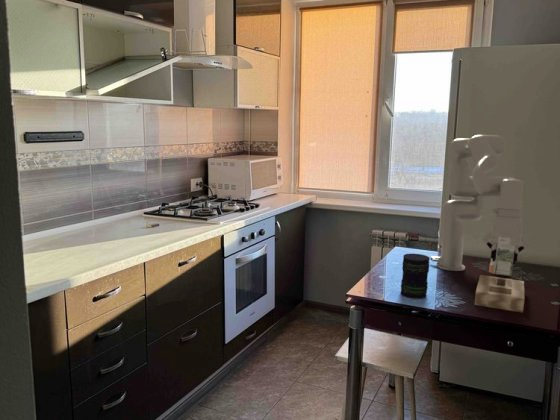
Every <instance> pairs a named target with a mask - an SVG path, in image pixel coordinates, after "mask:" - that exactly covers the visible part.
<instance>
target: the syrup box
mask: <svg viewBox="0 0 560 420" xmlns="http://www.w3.org/2000/svg"><path fill="white" fill-rule="evenodd" d="M514 249H515V246H513V245H510V238H506V237H502V236H499V237H498V244H497V246H496V254H495V261H494V273H495V274H494V275H498V276H506V277H507V276H508V277H511V276H512V273H513V267H514V266H513V265H514V264H513V257H514Z"/></svg>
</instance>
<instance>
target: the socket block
mask: <svg viewBox="0 0 560 420" xmlns="http://www.w3.org/2000/svg"><path fill="white" fill-rule="evenodd" d="M478 279H479V280H478V282H477V286H476V289H475V297H474V298H475V299H474V306H479V307H480V306H481V307H487V308H492V309H500V310H504V311H511V312H517V313H522V314H523V313H524V307H525V281H524V280H519V279H511V278H504V277H497V276H491V275H484V274H483V275H482V274H480V275H479V278H478Z"/></svg>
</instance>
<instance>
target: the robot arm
mask: <svg viewBox="0 0 560 420" xmlns="http://www.w3.org/2000/svg"><path fill="white" fill-rule="evenodd" d="M506 150H507V142H506V139H505V138H504V137H503V136H501V135H497V134H476V135H474V136H471V138H468V137H467V138H463V137H461V138H455V139H454V140H452V141H450V144H449V145H448V158H449V159H448V160H449V163H450V164H449V165H450V167H449V176H448V177H449V178H448V186H447V189H448V190H447V192H448V194H449V195H450V196H452V197H454V198H470V199H449V200H447V201H445V202H444V203H443V204H442V221H443V222H442V238H441V249H440V256H433V255H431V256H430V261H431V262H436V264H435V265H436V268H438V269H441V270H444V271H450V272H463V271H465V269H466V266H465V265H464V264H463V256H464V255H463V254H464V245H465V233H466V232H465V231H466V230H465V228H464V226H463V225H462V223H461V222H479V220H482V216H483V215H484V206H485V200H486V197H498V203H497V208H493V209H492V213H495V214H496V215H495V216H494V218H493V221H492V226H491V232H490V233H488V234H487V235H485V236H484V237H483V238H482V241H483V242H484V243H485V244H486V245H487V247H488V248H489V250H490V252H491V253H490V259H491V258H492V259H493V261H495V254H496V250H495V248H496V246H497V244H498V237H499V236H502V237H506V238H510V245H513V246H515V249H514V257H513V265H515V264H516V262H518V254H519V253H520V252H522V251H523V250H524V249H526V248H528V247H530V243H529V241H527V239H526V238H525V237H524V235H523V218H521V211H522V203H523V202H522V201H523V193H524V192H523V191H524V182H523V180H521V179H517V178H514V177H513V176H499V175H497V176H496V175H485V174H487V173H489V172H491V171H493V170H494V169H496V168H497V167H498V166H499V165H500V160H501V159H500V157H501V156H503V155H504V154H505V153H506ZM468 159H473V160H474V162H475V166H474V168H473V170H472V174H471V163H470V161H469V160H468ZM489 239H490V240H489ZM522 243H523V244H522ZM521 244H522V245H521Z"/></svg>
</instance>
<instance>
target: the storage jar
mask: <svg viewBox="0 0 560 420" xmlns="http://www.w3.org/2000/svg"><path fill="white" fill-rule="evenodd" d="M402 258H403V259H402V278H401V283H400V295H401V296H403V297H405V298H409V299H414V300H415V299H416V300H421V299H422V300H423V299H425V298H427V293H428V284H429V283H428V274H429V272H430V261H431V257H429V256H428V255H424V254H421V253H406V254H403V257H402Z"/></svg>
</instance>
